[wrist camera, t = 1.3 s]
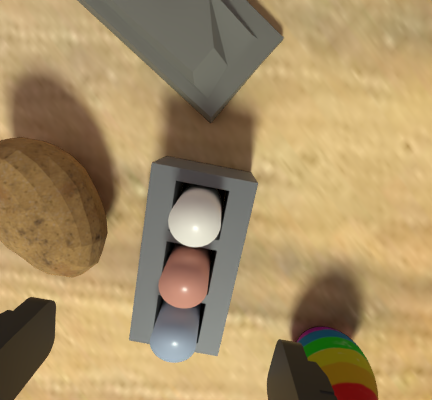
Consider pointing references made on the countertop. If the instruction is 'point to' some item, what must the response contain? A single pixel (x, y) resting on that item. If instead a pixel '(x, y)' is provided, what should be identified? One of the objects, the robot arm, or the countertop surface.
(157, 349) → the blue grey egg
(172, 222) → the white egg
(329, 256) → the countertop surface
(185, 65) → the soap mold
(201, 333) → the grey rectangular block
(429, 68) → the countertop surface
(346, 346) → the decorative egg
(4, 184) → the potato
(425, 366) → the countertop surface
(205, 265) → the brown egg
